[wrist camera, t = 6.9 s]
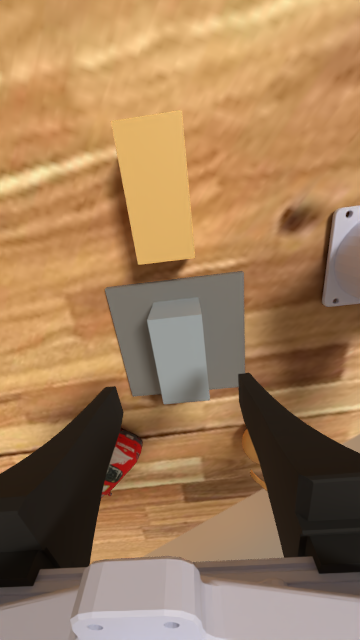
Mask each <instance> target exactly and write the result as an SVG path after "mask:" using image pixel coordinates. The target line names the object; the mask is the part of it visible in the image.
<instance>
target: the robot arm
mask: <svg viewBox="0 0 360 640" xmlns="http://www.w3.org/2000/svg"><path fill="white" fill-rule="evenodd" d="M348 211H349V216H348V217H346V213H347V212H348ZM334 299H336V301H335V302H333V300H334ZM322 304H323V305H325V306H326V307H332V306H342V305H351V304H360V206H352V207H345V208H339V209H337V210H336V211H335V212H334V214H333V220H332V227H331V235H330V243H329V251H328V258H327V266H326V274H325V282H324V290H323V297H322ZM238 385H239V403H240V407H241V411H242V415H243V419H244V422H245V424H246V427H247V430H248V432H249V435H250V438H251V440H252V443H253V446H254V448H255V451H256V454H257V457H258V460H259V463H260V466H261V469H262V473H263V476H264V480H265V484H266V488H267V491H268V495H269V499H270V503H271V506H272V510H273V514H274V518H275V522H276V526H277V530H278V534H279V538H280V542H281V545H282V550H283V555H284V558H269V559H250V560H249V559H248V560H227V561H206V562H191V561H189V560H186V559H184V558H181V557H171V556H161V557H141V558H121V559H105V560H100V561H95V562H93V563H92V564H91V565H89V564H90V558H91V551H92V544H93V538H94V533H95V527H96V521H97V516H98V511H99V506H100V501H101V496H102V491H103V487H104V482H105V478H106V474H107V470H108V467H109V464H110V461H111V458H112V455H113V451H114V448H115V445H116V442H117V439H118V436H119V432H120V429H121V424H122V418H123V409H122V406H121V403H120V399H119V396H118V393H117V390H116V386H114V387H105V388H104V389H103V390H102V391H101V392H100V393H99V394H98V395H97V397H96V398H95V399H94V400H93V401H92V402H91V403H90V404H89V405H88V406H87V407H86V408H85V409H84V410H83V411H82V412H81V413H80V414H79V415H78V416H77V417H76V418H75V419H74V420H73V421H72V422H71V423H69V424H68V425H67V426H66V427H65V428H64V429H63V430H62V431H61V432H59V433H58V434H57V435H56V436H55V437H53V438H52V439H51V440H50V441H48V442H47V443H46V444H44V445H43V446H42V447H40V448H39V449H38V450H36V451H35V452H33V453H32V454H31V455H29V456H28V457H26V458H25V459H23V460H22V461H20V462H19V463H17V464H16V465H14V466H12V467H11V468H9V469H8V470H6V471H4V472H3V473H1V474H0V640H360V453H358V452H356V451H354V450H352V449H349V448H347V447H345V446H343V445H341V444H340V443H338V442H336V441H334V440H332V439H330V438H328V437H327V436H325V435H323V434H322V433H320V432H318V431H317V430H315V429H314V428H312V427H310V426H309V425H307V424H306V423H304V422H303V421H301V420H300V419H299V418H297V417H296V416H295V415H293V414H292V413H291V412H289V411H288V410H287V409H286V408H284V407H283V406H282V405H281V404H280V403H279V402H278V401H276V400H275V399H274V398H273V397H272V396H271V395H270V394H269V393H268V392H267V391H266V390H265V389H264V388H263V387H262V386H261V385H260V384H259V383H258V382H257V381H256V380H255V379H254V377H253V376H252V375H251V374H250V373H242V374H238Z"/></svg>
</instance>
